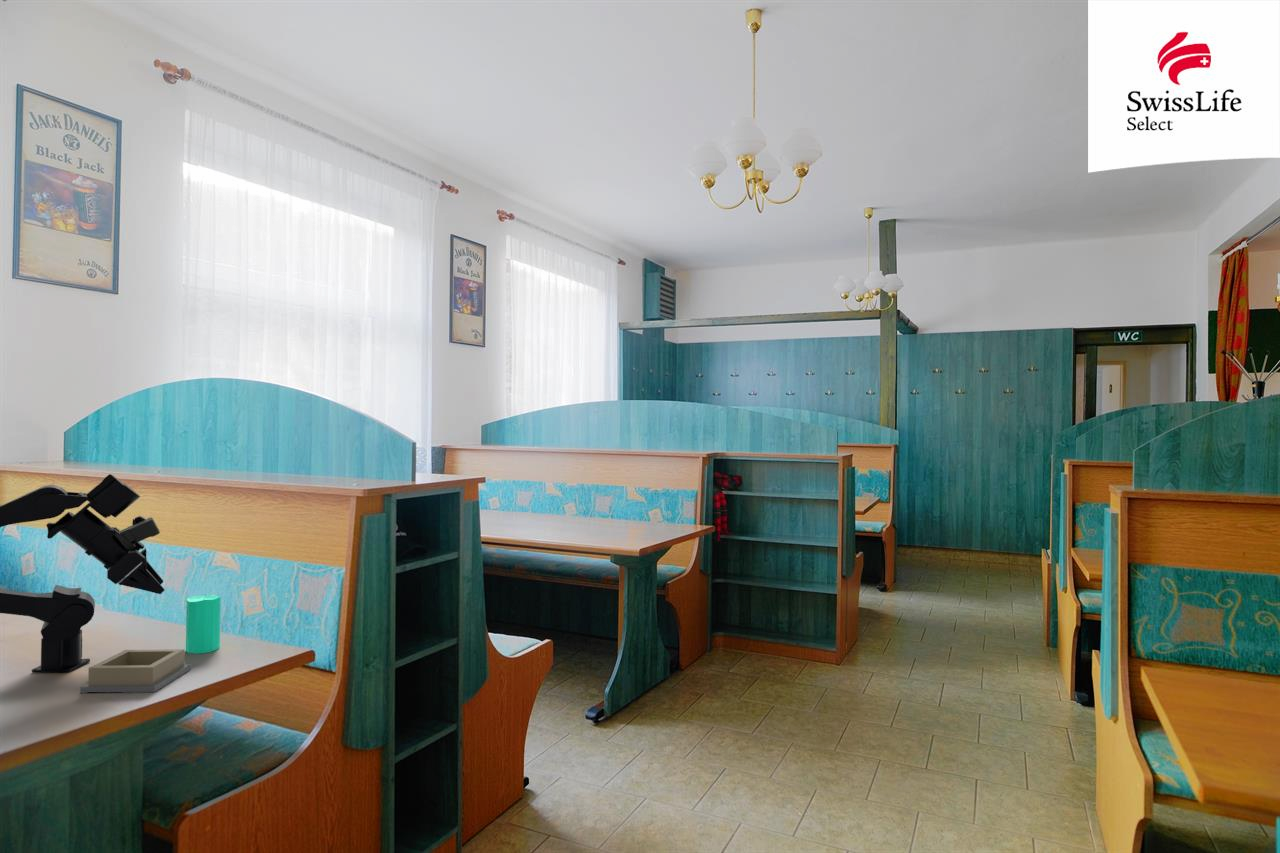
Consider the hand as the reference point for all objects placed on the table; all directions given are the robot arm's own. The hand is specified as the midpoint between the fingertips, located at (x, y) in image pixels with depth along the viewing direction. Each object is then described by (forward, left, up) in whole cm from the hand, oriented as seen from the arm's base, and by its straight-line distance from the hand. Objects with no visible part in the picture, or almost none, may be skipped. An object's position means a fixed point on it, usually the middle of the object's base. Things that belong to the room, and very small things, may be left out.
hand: (162, 587), depth 147 cm
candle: (+3, -6, -13) cm, 15 cm away
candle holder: (-16, -4, -13) cm, 21 cm away
